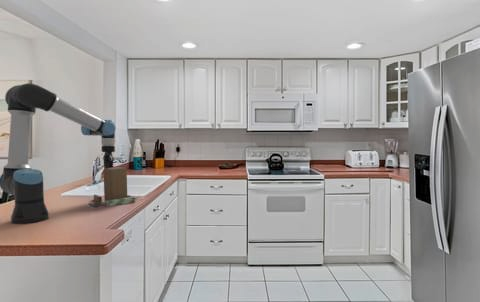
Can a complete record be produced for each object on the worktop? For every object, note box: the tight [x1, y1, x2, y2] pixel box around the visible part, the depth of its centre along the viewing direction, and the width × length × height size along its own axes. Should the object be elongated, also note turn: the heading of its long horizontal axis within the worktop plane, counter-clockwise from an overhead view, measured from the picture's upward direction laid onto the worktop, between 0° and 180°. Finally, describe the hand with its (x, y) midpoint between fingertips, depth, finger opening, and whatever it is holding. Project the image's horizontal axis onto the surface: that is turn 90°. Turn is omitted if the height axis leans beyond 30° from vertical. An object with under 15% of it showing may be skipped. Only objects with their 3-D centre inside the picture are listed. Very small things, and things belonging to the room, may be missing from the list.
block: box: [103, 166, 128, 201], centre depth 200 cm, size 10×10×20 cm
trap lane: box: [88, 194, 138, 208], centre depth 202 cm, size 27×25×3 cm
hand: (108, 184), depth 207 cm, fingers closed
